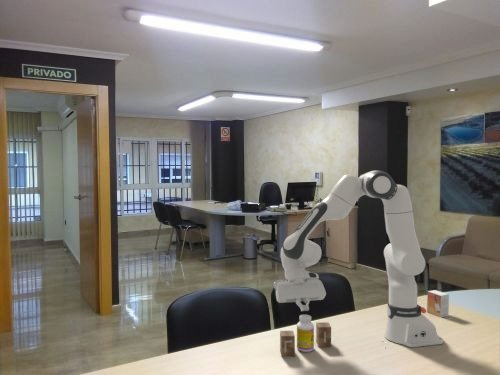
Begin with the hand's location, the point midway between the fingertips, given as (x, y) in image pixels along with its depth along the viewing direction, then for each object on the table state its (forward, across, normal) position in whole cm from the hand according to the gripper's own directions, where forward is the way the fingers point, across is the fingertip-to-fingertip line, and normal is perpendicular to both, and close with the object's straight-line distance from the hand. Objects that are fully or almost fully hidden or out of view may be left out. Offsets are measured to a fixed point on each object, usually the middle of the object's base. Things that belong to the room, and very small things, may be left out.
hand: (305, 310), depth 159 cm
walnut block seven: (+13, -8, +9) cm, 17 cm away
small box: (-4, +76, +25) cm, 80 cm away
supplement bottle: (+11, 0, +11) cm, 15 cm away
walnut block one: (+9, +9, +12) cm, 18 cm away
